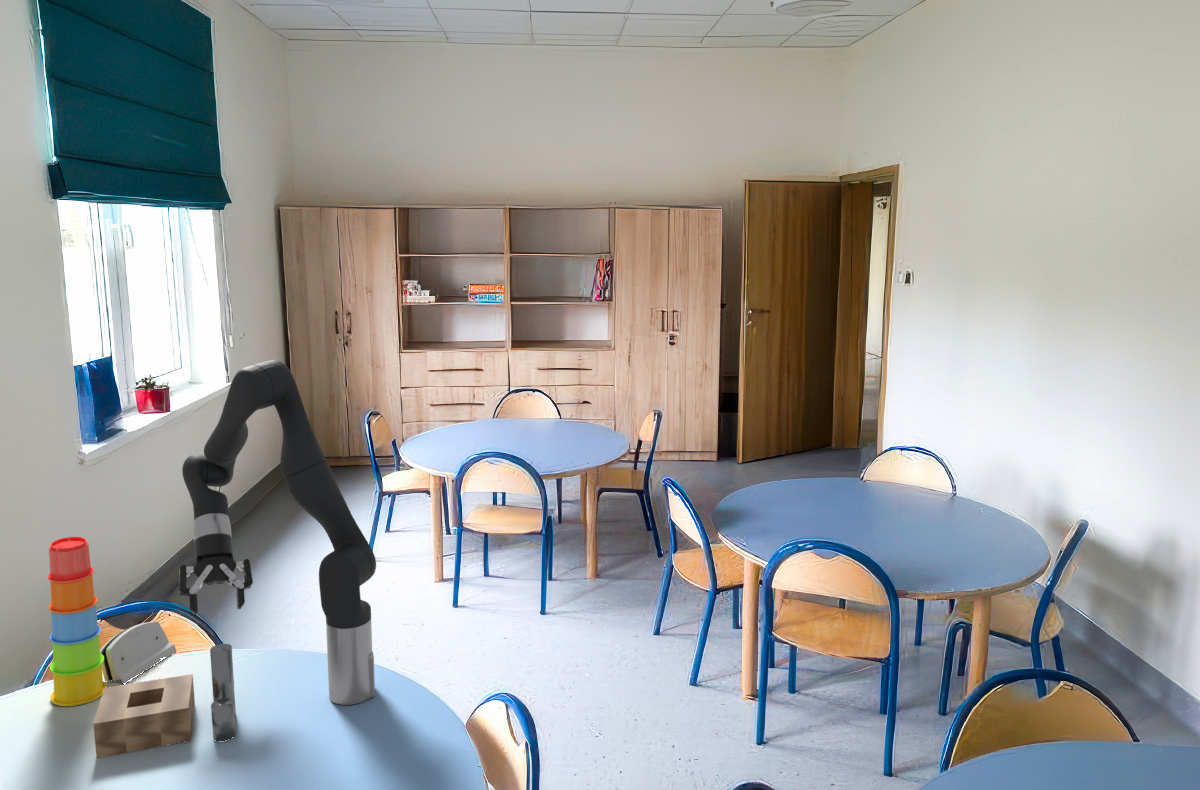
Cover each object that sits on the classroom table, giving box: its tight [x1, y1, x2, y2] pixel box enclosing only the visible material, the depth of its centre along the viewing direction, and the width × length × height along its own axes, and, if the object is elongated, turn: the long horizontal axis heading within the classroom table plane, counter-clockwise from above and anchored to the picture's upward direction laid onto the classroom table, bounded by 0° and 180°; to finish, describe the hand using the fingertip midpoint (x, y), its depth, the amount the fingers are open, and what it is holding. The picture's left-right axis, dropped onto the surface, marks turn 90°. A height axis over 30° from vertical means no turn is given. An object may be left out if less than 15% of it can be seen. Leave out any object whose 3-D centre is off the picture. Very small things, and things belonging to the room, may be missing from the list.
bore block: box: [92, 673, 196, 759], centre depth 168 cm, size 16×14×7 cm
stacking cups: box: [47, 536, 108, 707], centre depth 178 cm, size 10×10×35 cm
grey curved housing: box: [100, 621, 177, 683], centre depth 194 cm, size 17×5×10 cm, turn 166°
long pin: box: [209, 643, 237, 718], centre depth 173 cm, size 4×4×15 cm
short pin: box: [210, 698, 236, 742], centre depth 167 cm, size 4×4×7 cm
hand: (217, 610), depth 179 cm, fingers open, 8 cm apart
